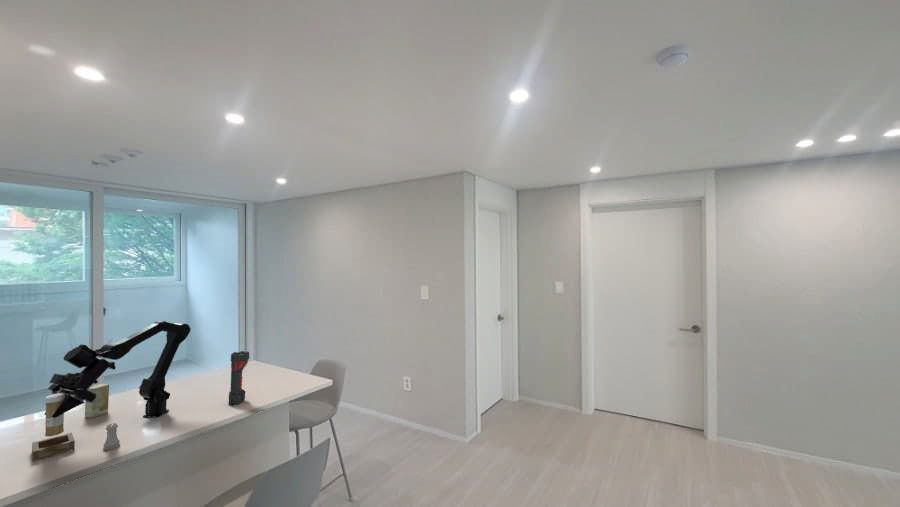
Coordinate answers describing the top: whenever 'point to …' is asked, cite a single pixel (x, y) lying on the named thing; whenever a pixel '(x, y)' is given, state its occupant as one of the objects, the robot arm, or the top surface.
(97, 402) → the skincare box
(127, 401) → the top surface
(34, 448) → the walnut holder
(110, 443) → the rook chess piece
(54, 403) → the sprinkles bottle
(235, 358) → the flashlight
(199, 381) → the top surface
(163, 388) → the robot arm
